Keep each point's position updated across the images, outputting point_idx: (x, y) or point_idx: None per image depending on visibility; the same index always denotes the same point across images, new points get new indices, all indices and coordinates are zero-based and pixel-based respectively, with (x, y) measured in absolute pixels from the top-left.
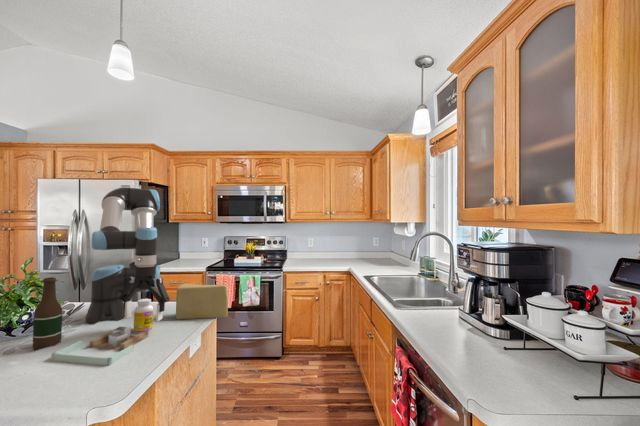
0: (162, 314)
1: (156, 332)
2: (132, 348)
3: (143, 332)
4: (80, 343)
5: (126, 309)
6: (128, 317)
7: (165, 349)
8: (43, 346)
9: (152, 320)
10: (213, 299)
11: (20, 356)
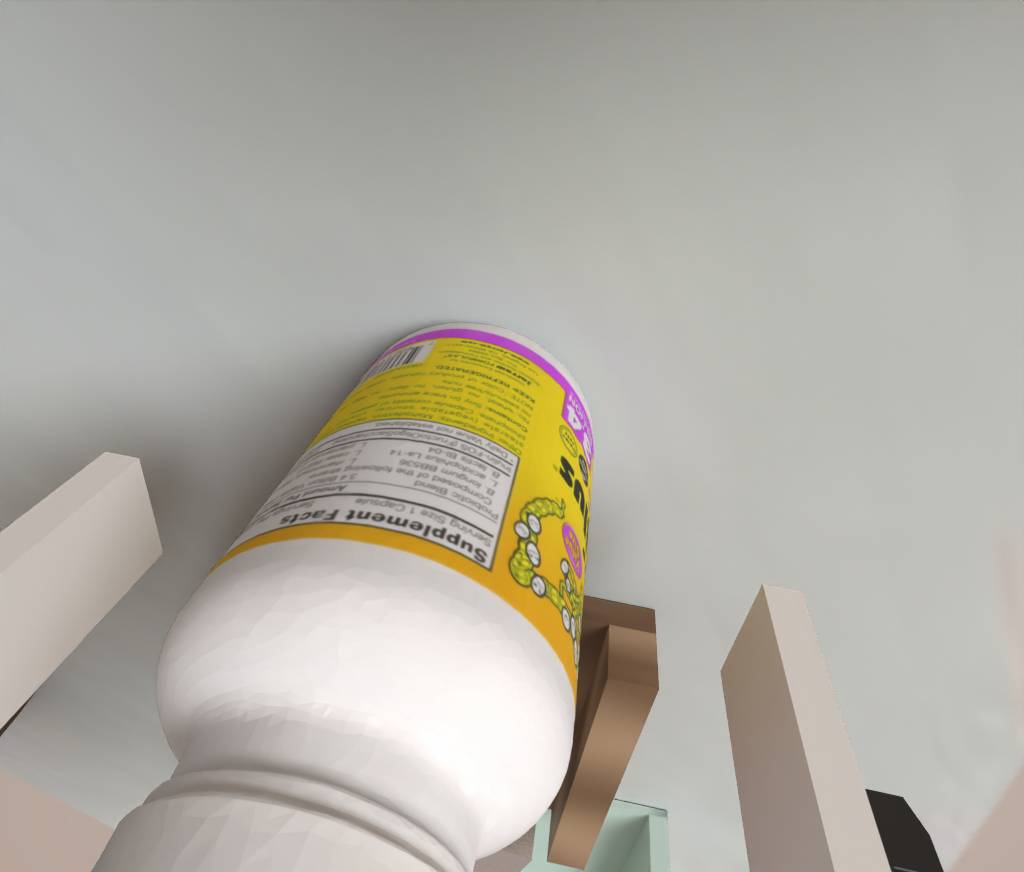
0: (823, 666)
1: (666, 426)
2: (667, 869)
3: (616, 706)
4: None
5: (26, 690)
6: (145, 521)
7: (917, 787)
8: (2, 733)
9: (584, 516)
10: None
11: (3, 743)
